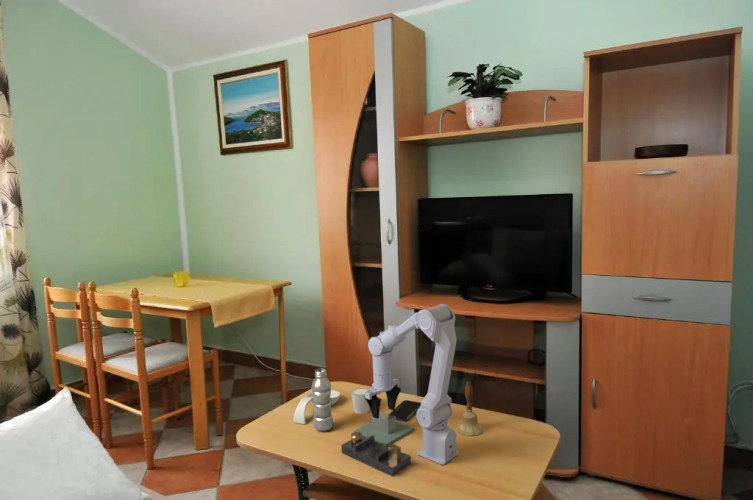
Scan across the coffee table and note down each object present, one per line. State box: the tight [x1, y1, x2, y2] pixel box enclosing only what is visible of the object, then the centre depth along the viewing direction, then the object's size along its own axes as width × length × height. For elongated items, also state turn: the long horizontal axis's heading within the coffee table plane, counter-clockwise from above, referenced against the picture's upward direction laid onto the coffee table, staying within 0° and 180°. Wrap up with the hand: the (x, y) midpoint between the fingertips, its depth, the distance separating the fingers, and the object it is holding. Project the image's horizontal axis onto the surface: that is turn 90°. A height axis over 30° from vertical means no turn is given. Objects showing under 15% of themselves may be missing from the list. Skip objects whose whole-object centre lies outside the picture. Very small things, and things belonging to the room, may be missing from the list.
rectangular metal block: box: [370, 410, 397, 434], centre depth 160 cm, size 7×4×4 cm, turn 48°
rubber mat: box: [353, 420, 416, 447], centre depth 161 cm, size 14×14×1 cm
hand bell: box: [456, 381, 484, 437], centre depth 159 cm, size 8×8×16 cm
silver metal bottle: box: [310, 368, 334, 432], centre depth 163 cm, size 6×7×20 cm
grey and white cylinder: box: [350, 388, 370, 415], centre depth 177 cm, size 7×7×7 cm
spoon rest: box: [292, 389, 341, 425], centre depth 179 cm, size 24×12×7 cm, turn 157°
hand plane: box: [341, 431, 412, 478], centre depth 144 cm, size 20×8×6 cm, turn 48°
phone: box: [389, 399, 421, 423], centre depth 175 cm, size 8×1×15 cm
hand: (383, 413), depth 160 cm, fingers open, 7 cm apart
